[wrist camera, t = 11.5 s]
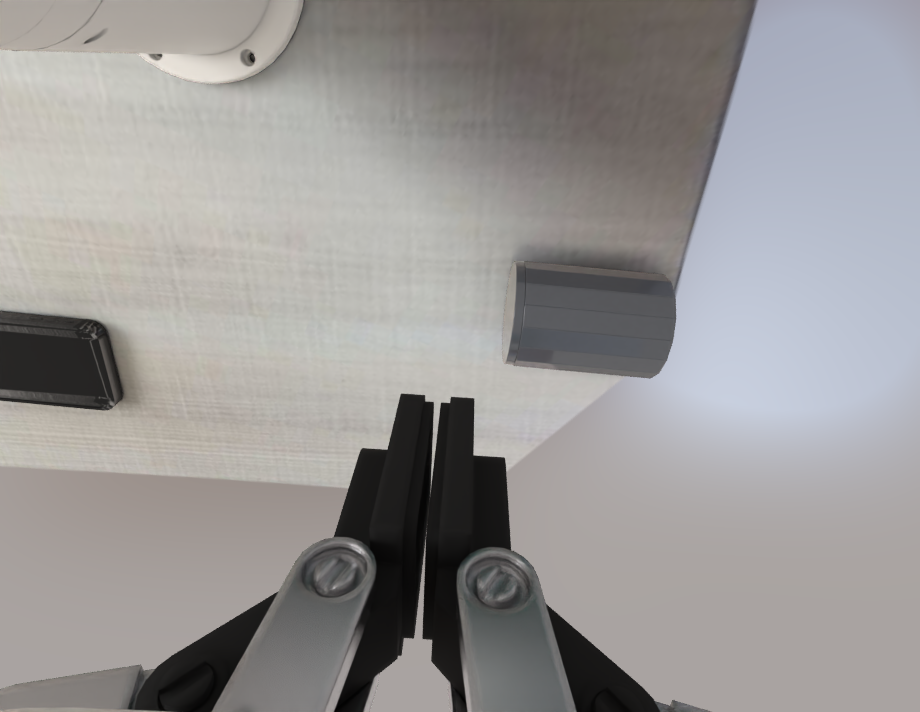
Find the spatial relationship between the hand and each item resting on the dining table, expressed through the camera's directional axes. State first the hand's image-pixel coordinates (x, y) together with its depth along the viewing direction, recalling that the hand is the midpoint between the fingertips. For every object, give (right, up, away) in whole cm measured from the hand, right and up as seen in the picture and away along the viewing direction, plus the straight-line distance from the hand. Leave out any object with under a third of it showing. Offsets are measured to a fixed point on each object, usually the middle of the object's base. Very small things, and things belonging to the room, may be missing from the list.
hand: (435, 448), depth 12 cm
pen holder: (+4, +5, +24) cm, 25 cm away
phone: (-35, +2, +31) cm, 47 cm away
